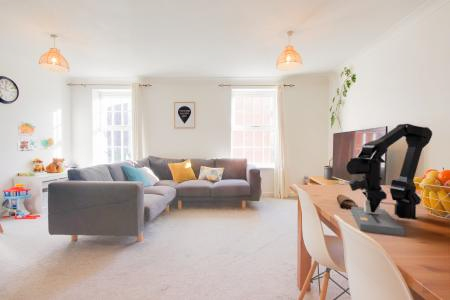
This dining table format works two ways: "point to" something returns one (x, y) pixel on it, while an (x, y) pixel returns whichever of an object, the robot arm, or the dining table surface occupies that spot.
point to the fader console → (376, 222)
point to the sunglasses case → (345, 202)
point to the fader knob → (367, 209)
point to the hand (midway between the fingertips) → (371, 211)
